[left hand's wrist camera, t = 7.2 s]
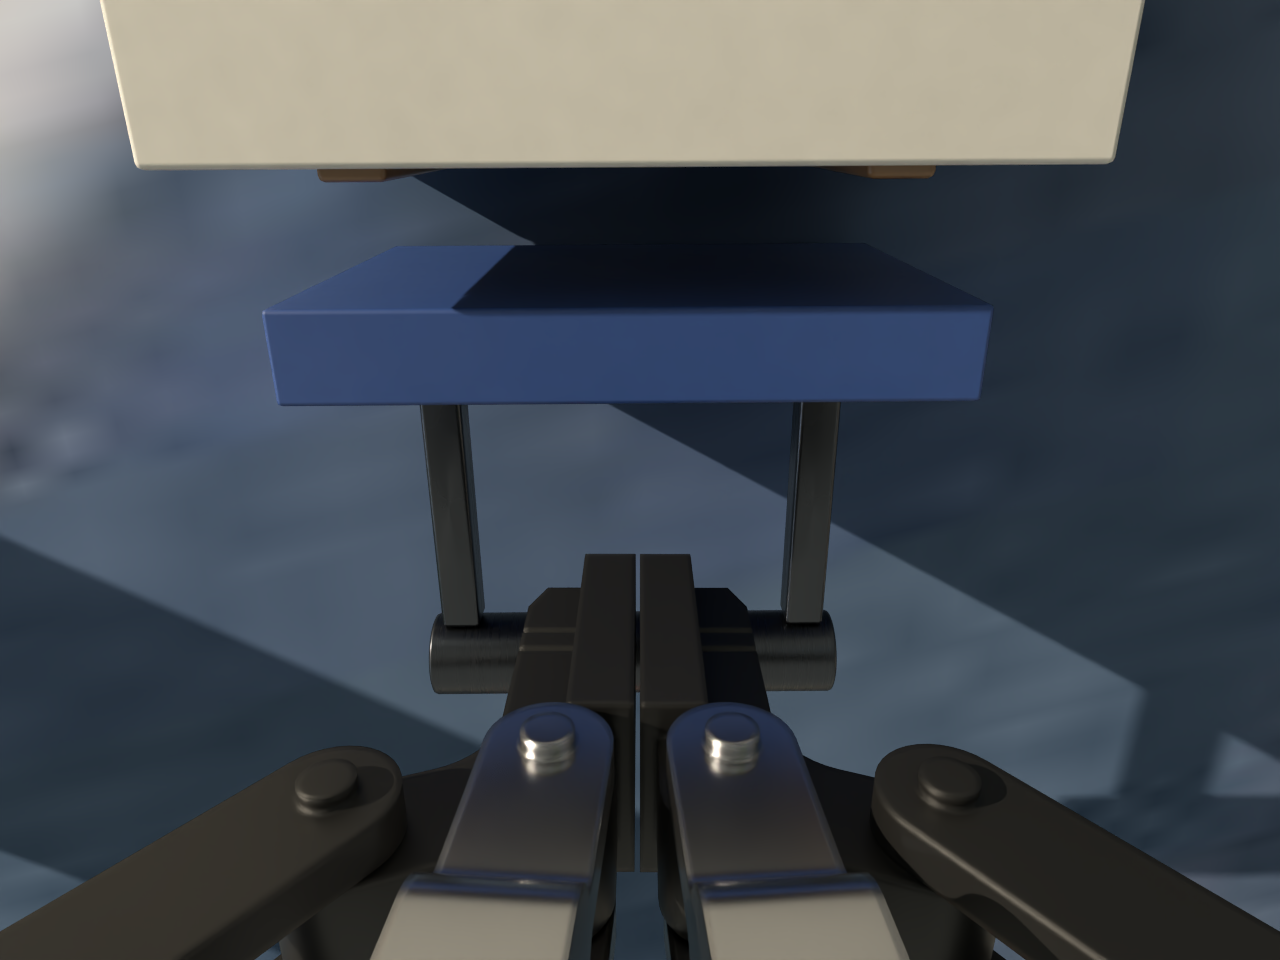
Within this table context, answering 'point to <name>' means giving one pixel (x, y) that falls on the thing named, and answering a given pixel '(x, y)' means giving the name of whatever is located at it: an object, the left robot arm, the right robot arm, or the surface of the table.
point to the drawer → (628, 380)
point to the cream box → (620, 82)
